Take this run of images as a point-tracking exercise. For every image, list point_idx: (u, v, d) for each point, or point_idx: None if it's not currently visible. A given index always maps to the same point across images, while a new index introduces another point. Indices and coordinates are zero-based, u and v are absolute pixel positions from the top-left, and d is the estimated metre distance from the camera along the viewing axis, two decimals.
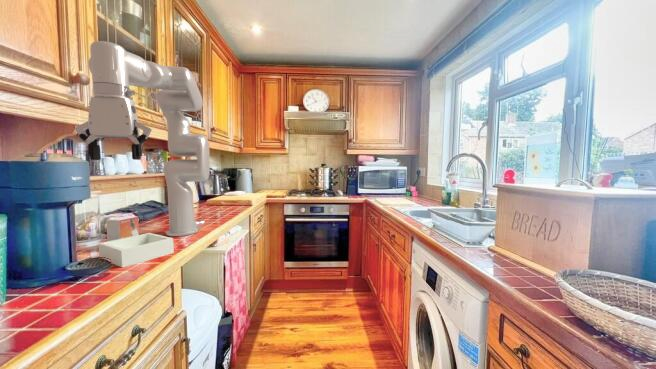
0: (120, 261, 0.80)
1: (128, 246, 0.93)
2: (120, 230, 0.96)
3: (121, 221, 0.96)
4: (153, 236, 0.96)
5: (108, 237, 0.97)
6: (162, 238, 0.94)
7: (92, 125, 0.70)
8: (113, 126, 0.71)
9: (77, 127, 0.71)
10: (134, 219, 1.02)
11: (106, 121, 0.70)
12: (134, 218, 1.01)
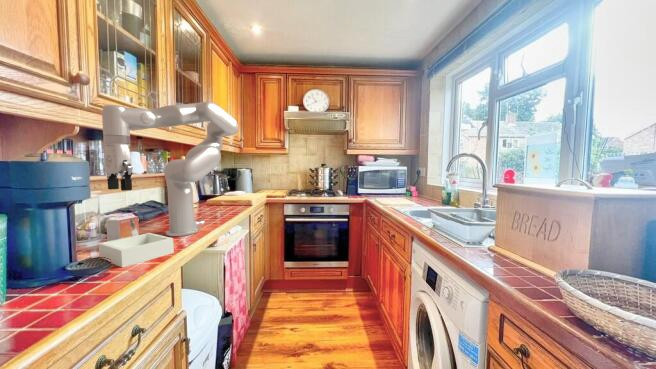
0: (120, 261, 0.80)
1: (128, 246, 0.93)
2: (120, 230, 0.96)
3: (121, 221, 0.96)
4: (153, 236, 0.96)
5: (108, 237, 0.97)
6: (162, 238, 0.94)
7: None
8: None
9: None
10: (134, 219, 1.02)
11: None
12: (134, 218, 1.02)
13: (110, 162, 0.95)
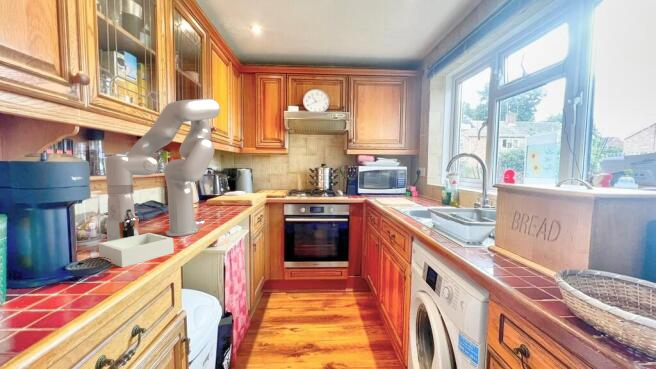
0: (120, 261, 0.80)
1: (128, 246, 0.93)
2: (120, 230, 0.96)
3: None
4: (153, 236, 0.96)
5: (108, 237, 0.97)
6: (162, 238, 0.94)
7: None
8: None
9: None
10: None
11: None
12: None
13: (114, 212, 0.97)
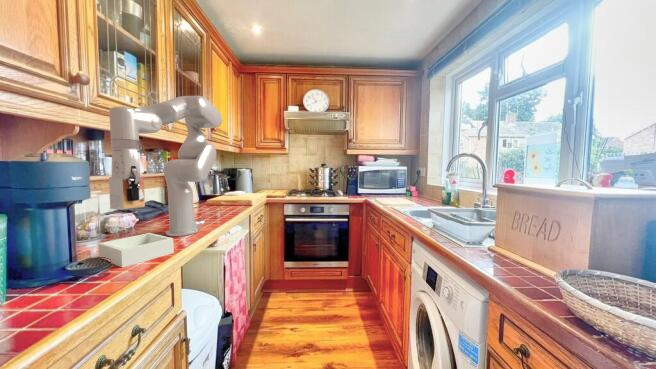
0: (120, 261, 0.80)
1: (128, 246, 0.93)
2: (123, 188, 0.87)
3: None
4: (153, 236, 0.96)
5: (111, 196, 0.88)
6: (162, 238, 0.94)
7: None
8: None
9: None
10: None
11: None
12: None
13: (118, 168, 0.88)
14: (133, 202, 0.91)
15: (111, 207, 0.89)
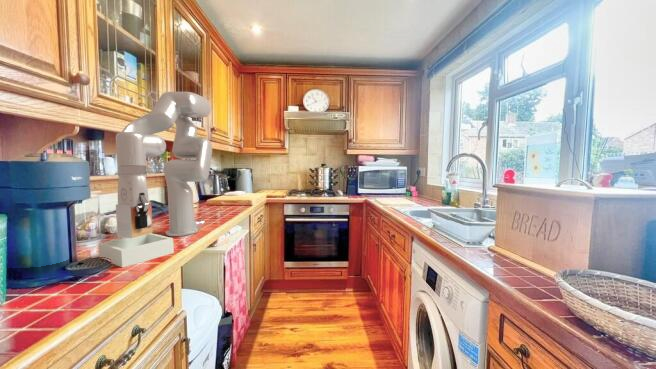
0: (120, 261, 0.80)
1: (128, 246, 0.93)
2: (131, 216, 0.85)
3: None
4: (153, 236, 0.96)
5: (118, 224, 0.85)
6: (162, 238, 0.94)
7: None
8: None
9: None
10: None
11: None
12: None
13: (125, 195, 0.85)
14: (141, 229, 0.88)
15: (118, 235, 0.86)
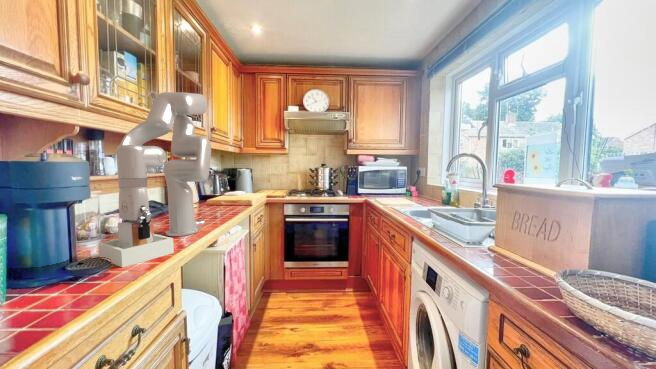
0: (120, 261, 0.80)
1: None
2: (132, 235, 0.85)
3: (134, 225, 0.86)
4: None
5: (120, 242, 0.86)
6: (162, 238, 0.94)
7: None
8: None
9: None
10: None
11: None
12: None
13: (126, 208, 0.86)
14: None
15: None
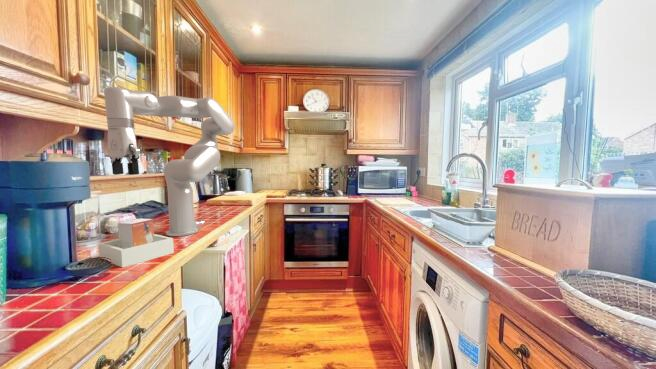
0: (120, 261, 0.80)
1: None
2: (132, 235, 0.85)
3: (134, 225, 0.86)
4: None
5: (120, 242, 0.86)
6: (162, 238, 0.94)
7: None
8: None
9: None
10: (149, 222, 0.91)
11: None
12: (148, 221, 0.91)
13: (115, 146, 0.94)
14: None
15: None
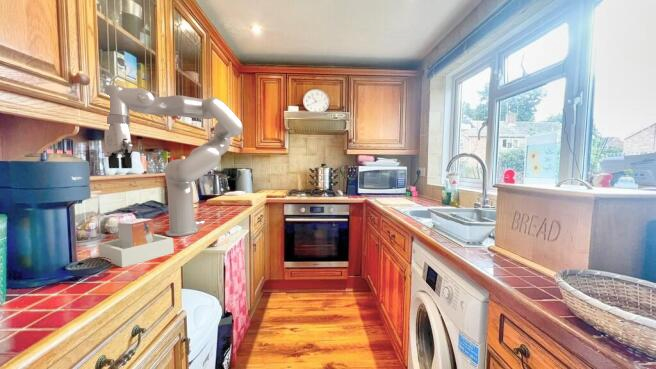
0: (120, 261, 0.80)
1: None
2: (132, 235, 0.85)
3: (134, 225, 0.86)
4: None
5: (120, 242, 0.86)
6: (162, 238, 0.94)
7: None
8: None
9: None
10: (149, 222, 0.91)
11: None
12: (148, 221, 0.91)
13: (110, 141, 0.99)
14: None
15: None
